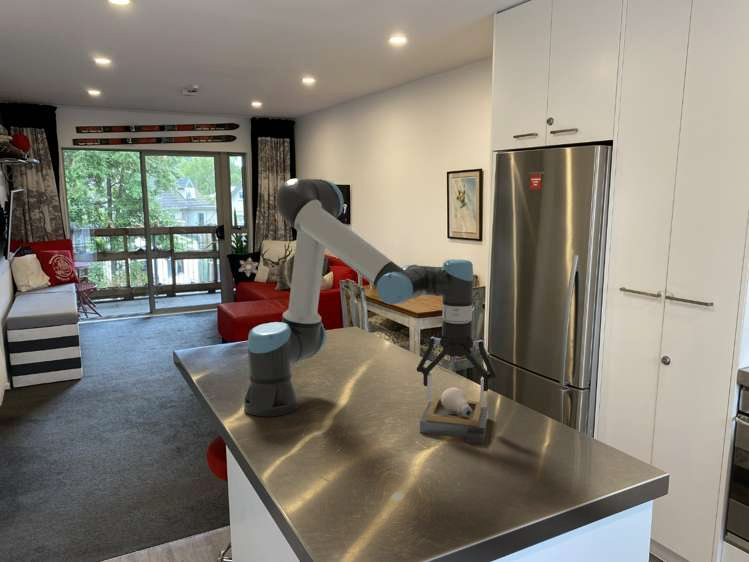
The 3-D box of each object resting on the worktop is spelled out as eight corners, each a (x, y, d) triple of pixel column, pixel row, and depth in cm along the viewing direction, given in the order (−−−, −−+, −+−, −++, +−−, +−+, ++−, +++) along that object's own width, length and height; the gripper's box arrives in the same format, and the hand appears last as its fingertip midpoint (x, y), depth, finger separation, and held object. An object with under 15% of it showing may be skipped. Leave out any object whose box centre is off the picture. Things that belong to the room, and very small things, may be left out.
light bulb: (480, 398, 138) (458, 380, 148) (457, 404, 136) (436, 386, 145) (480, 421, 140) (458, 402, 149) (457, 428, 137) (437, 408, 147)
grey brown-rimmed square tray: (417, 437, 137) (417, 419, 137) (431, 407, 158) (431, 391, 157) (482, 444, 133) (483, 426, 133) (488, 412, 153) (489, 397, 153)
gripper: (406, 320, 141) (405, 400, 144) (506, 326, 134) (503, 410, 137) (411, 314, 148) (411, 391, 151) (507, 320, 141) (505, 399, 144)
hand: (455, 400), depth 144 cm, fingers open, 13 cm apart
